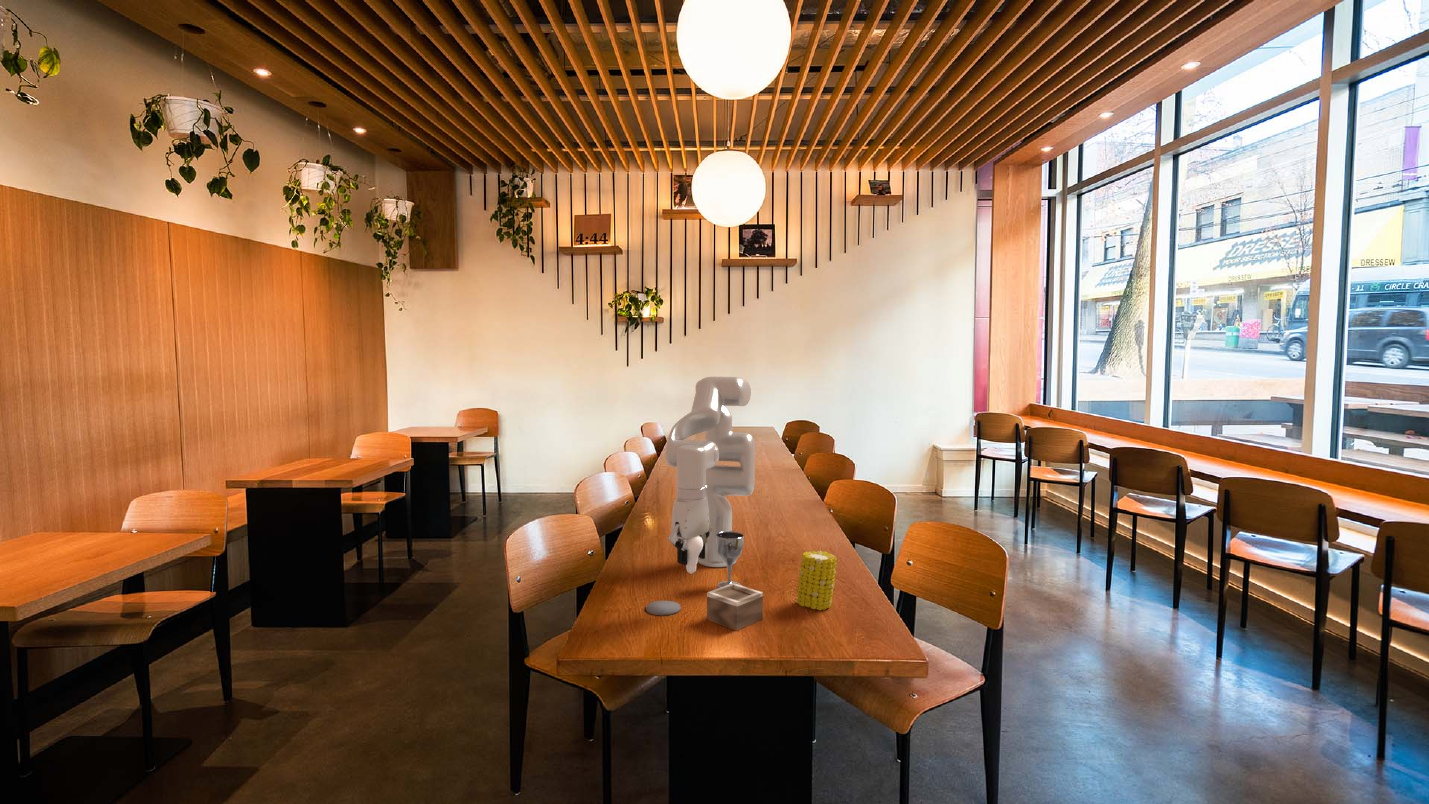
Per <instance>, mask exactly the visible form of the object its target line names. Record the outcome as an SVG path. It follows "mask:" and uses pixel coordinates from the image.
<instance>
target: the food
mask: <svg viewBox="0 0 1429 804" xmlns="http://www.w3.org/2000/svg"><path fill="white" fill-rule="evenodd" d="M800 560H801V562H800V564H801V565H799V567H800V570H799V574H798V583H797V584H798V587H797V595H796V597H797V599H796V602H797V604H798V605H799V606H801V607H806V608H810V609H812V610H818V611H822V610H823V611H825V610H826V609H830V607H831V606H832V603H833V595H834V587H835V581H836V579H835V578H836V574H837V571H836V569H837V564H838V563H837V561H838V558H837V557H836V556H835V555H834V554H832V553H829V552H828V551H825V550H824V551H822V550H817V551H815V550H811V551H805V552H802V554H801V559H800Z"/></svg>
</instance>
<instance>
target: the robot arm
mask: <svg viewBox="0 0 1429 804" xmlns="http://www.w3.org/2000/svg"><path fill="white" fill-rule="evenodd" d="M751 391H752V390H751V384H750V383H749V381H748V380H747V379H745V378H742V377H739V376H736V377H735V376H707V377H704V378H702V379H700V380H698V381H696V384H695V392H694V393H695V394H694V398H693V403H692V407H691V411H690V412H689V413H687V414H686V415H684V416H683V417H681V418H679V420H678V421H676V422H675V424H673V426H672V428H671V429H670V431H669V434H668V439H667V442H666V446H665V451H664V452H665V453H664V454H665V455H664V457H665V461H666V463H667V465H668V466H670V467H672V468H676V498H674V502H673V506H672V513H671V527H670V528H671V529H670V531H671V532H670V534H669V536H668V538H667V539H668V541H669V542H670V543H672V545H673V546H674V548H675V549H676V550H677V551H676V553H677V555H676V562H677V564H680V565H684V566H686V565H687V550H686V545H687V542H688V539H689V538H693V537H695V536H699V535H700V536H701V538H702V540H703V548H702V550H701V552H700V554H699V556H698V561H697V564H699V565H702V566H705V567H710V568H711V567H712V568H725V567H726V568H727V565H726V563H725V561H724V560H723V559H722V558H721V557H720V555H719V553H718V550H717V544H716V534H717V533H719V532H725V531H733V509H732V508H733V507H732V505H731V503H730V502H729V500H728V499H727V497H728V496H734V497H735V496H736V497H748V496H751V495H752V493H753V492H754V490H755V483H756V482H755V481H756V475H755V474H756V470H755V469H756V446H755V445H756V444H755V440H754V437H753V435H752V434H750V433H749V432H741V431H739V432H738V431H733V415H732V413H731V412H730V410H729V409H728V408H727V407H746V406H747V405H748V404H749V402H750V400H751V395H752V394H751V393H752V392H751ZM701 433H705V439H704V440H695V439H687V438H689V437H692V436H695V435H697V434H701ZM718 462H731V463H739V464H740V465H725V464H724V465H723V464H721V465H720V464H717V463H718ZM726 496H727V497H726ZM681 540H683V542H682V544H681ZM736 563H737V560H736V561H735V562H734V563H733V565H735V564H736Z"/></svg>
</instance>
